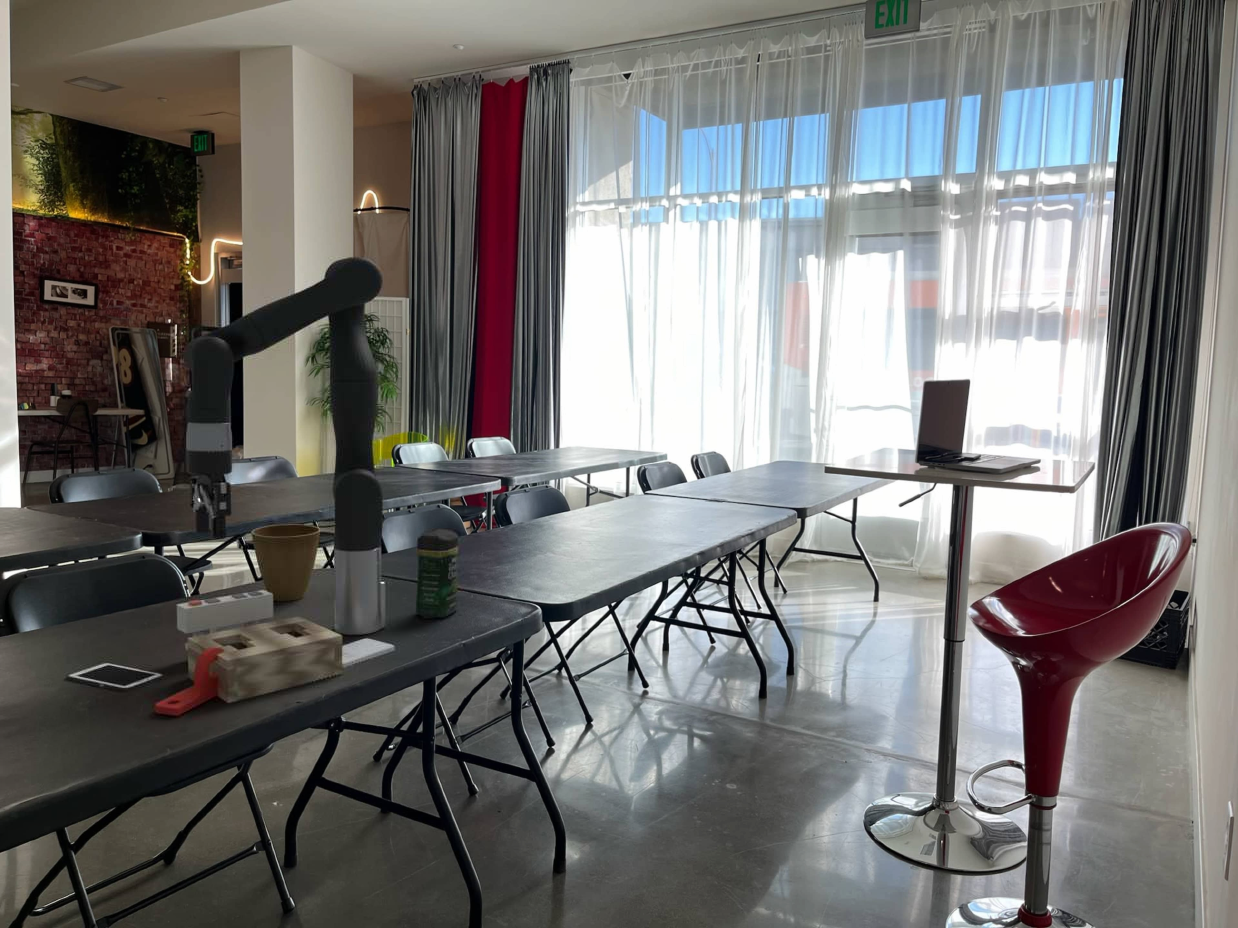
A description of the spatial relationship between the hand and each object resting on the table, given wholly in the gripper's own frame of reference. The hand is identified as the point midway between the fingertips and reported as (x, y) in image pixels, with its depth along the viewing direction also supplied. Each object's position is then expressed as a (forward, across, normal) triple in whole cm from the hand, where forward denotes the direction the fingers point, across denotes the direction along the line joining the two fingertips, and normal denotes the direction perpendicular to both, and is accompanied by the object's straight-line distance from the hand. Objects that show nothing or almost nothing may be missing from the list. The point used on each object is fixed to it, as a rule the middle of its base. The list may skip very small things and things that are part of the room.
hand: (210, 535), depth 162 cm
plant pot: (+22, +31, -28) cm, 47 cm away
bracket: (+23, -22, +10) cm, 33 cm away
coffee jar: (+22, -2, -48) cm, 52 cm away
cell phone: (+23, -2, +16) cm, 29 cm away
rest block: (+22, -1, -2) cm, 23 cm away
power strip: (+20, -1, -2) cm, 21 cm away
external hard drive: (+23, -16, -20) cm, 35 cm away
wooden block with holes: (+23, -17, -3) cm, 29 cm away
